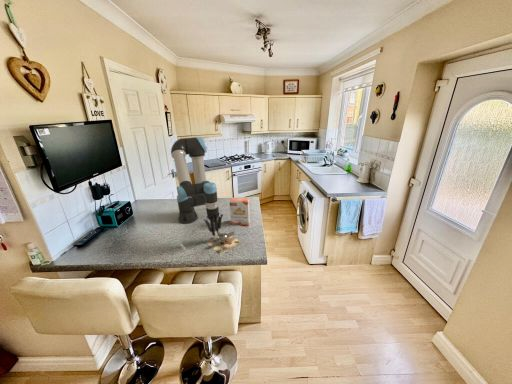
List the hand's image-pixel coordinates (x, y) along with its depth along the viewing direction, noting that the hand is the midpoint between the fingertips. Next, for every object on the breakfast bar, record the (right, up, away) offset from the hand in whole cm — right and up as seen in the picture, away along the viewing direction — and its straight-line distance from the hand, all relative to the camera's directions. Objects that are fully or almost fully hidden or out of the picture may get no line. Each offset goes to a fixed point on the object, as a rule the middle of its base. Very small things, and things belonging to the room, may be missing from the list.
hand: (215, 238), depth 134 cm
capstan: (+6, -2, -2) cm, 6 cm away
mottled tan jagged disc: (+6, -3, -1) cm, 7 cm away
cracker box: (+15, +6, +22) cm, 27 cm away
